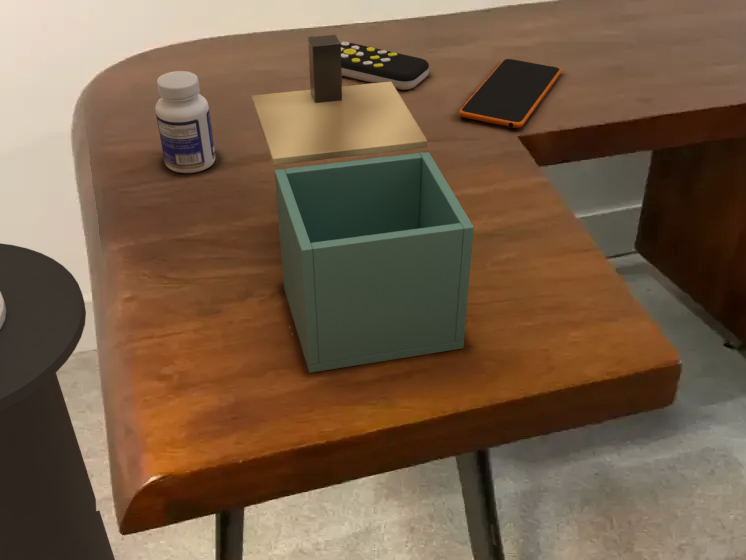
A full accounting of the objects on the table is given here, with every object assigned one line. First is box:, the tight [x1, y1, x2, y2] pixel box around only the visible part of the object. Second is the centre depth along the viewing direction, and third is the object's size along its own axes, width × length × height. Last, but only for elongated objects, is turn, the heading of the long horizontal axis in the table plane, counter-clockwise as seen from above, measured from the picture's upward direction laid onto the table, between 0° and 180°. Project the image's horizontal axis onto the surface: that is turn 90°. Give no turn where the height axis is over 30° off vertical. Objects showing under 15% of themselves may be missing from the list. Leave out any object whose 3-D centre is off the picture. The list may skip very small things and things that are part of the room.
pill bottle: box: [154, 70, 217, 174], centre depth 92 cm, size 5×5×9 cm
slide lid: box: [251, 34, 428, 166], centre depth 75 cm, size 13×12×6 cm
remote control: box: [340, 41, 430, 91], centre depth 111 cm, size 6×13×2 cm, turn 62°
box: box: [274, 151, 475, 373], centre depth 72 cm, size 13×12×11 cm
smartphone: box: [458, 58, 563, 129], centre depth 107 cm, size 8×17×1 cm, turn 156°
